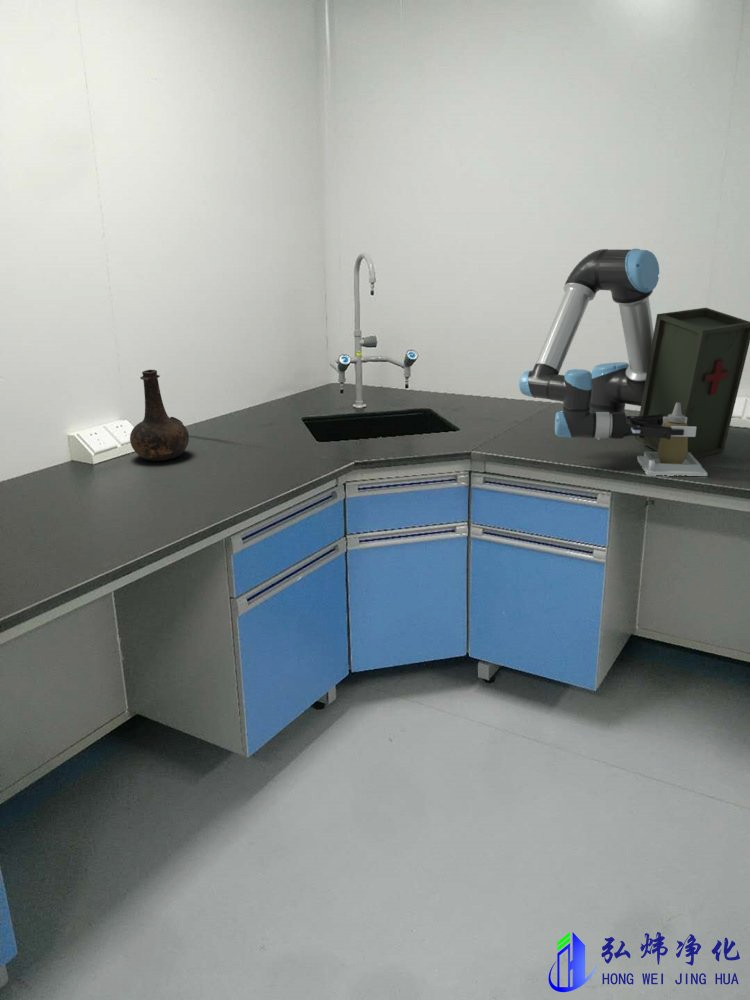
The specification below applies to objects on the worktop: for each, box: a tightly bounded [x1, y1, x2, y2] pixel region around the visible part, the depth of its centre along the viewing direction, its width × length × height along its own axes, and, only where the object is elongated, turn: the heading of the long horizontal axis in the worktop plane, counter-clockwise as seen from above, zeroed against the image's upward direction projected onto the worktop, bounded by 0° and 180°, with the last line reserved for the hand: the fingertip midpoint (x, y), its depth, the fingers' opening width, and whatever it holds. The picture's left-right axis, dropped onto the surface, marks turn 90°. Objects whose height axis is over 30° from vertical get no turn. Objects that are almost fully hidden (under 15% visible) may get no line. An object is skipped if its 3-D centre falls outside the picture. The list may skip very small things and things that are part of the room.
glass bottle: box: [129, 369, 190, 462], centre depth 237 cm, size 18×18×28 cm
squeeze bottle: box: [658, 402, 688, 464], centre depth 215 cm, size 8×8×18 cm
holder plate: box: [636, 451, 708, 477], centre depth 218 cm, size 16×16×4 cm
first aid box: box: [634, 307, 750, 458], centre depth 226 cm, size 18×18×40 cm
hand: (690, 426), depth 213 cm, fingers open, 11 cm apart
